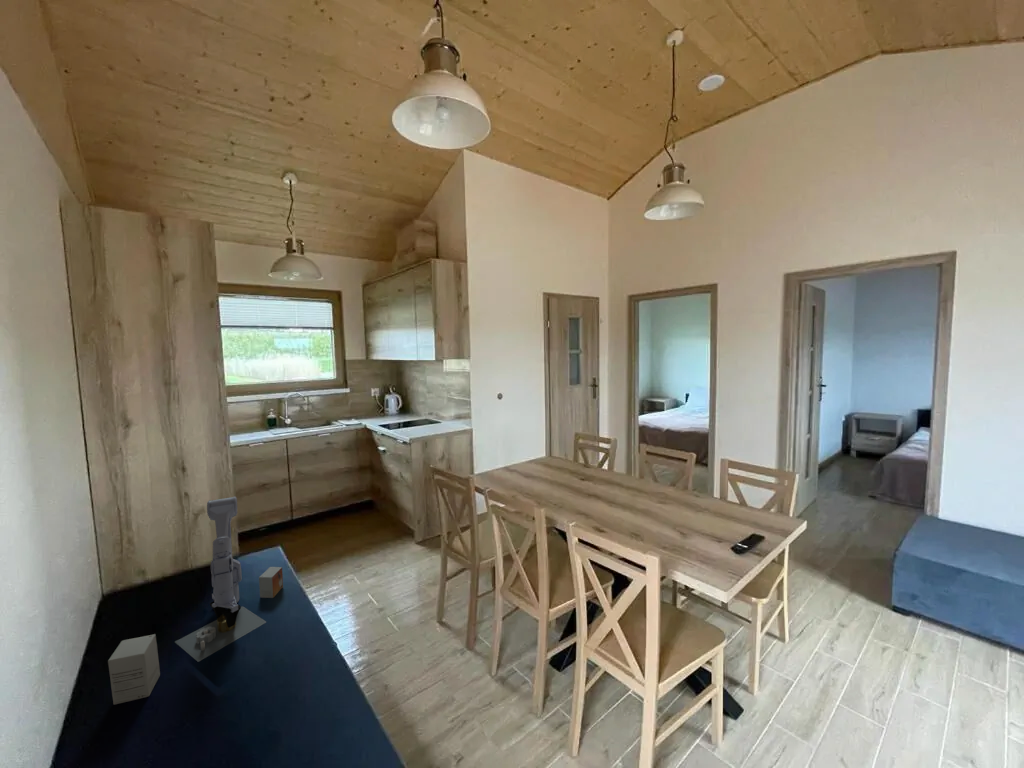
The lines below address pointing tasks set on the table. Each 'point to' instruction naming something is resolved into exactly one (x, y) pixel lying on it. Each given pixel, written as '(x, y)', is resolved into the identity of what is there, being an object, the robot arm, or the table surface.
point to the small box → (271, 582)
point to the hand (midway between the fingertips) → (226, 622)
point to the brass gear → (223, 624)
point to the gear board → (218, 635)
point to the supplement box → (134, 669)
